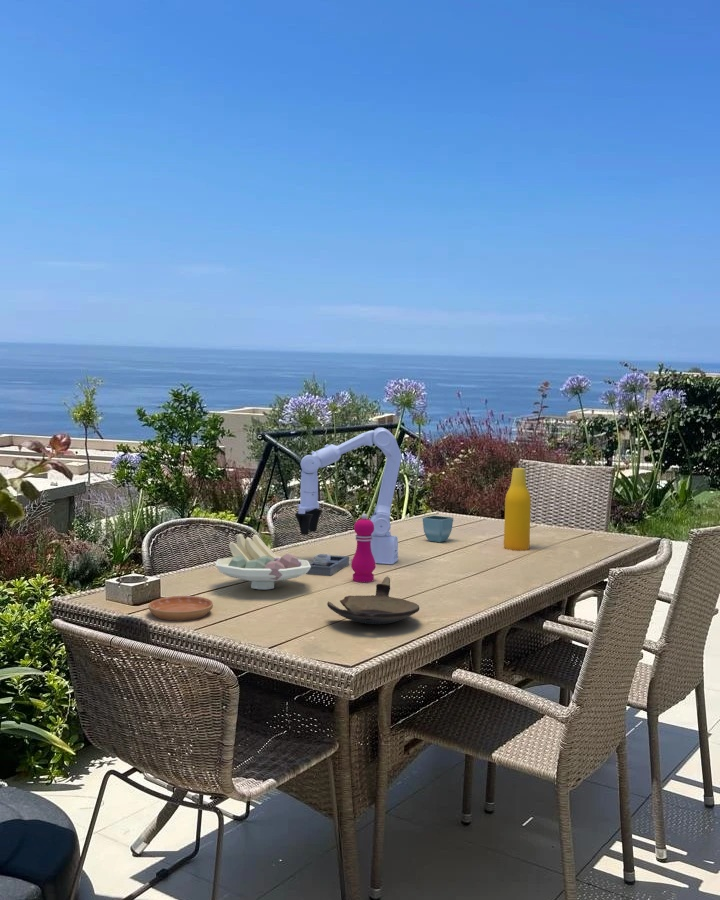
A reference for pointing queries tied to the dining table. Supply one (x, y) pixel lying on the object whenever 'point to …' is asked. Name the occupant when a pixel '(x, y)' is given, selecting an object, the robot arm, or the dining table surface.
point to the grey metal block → (322, 560)
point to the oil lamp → (376, 607)
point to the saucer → (180, 607)
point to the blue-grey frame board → (336, 565)
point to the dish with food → (260, 563)
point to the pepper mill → (363, 551)
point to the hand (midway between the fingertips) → (308, 532)
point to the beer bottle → (517, 513)
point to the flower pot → (437, 528)
